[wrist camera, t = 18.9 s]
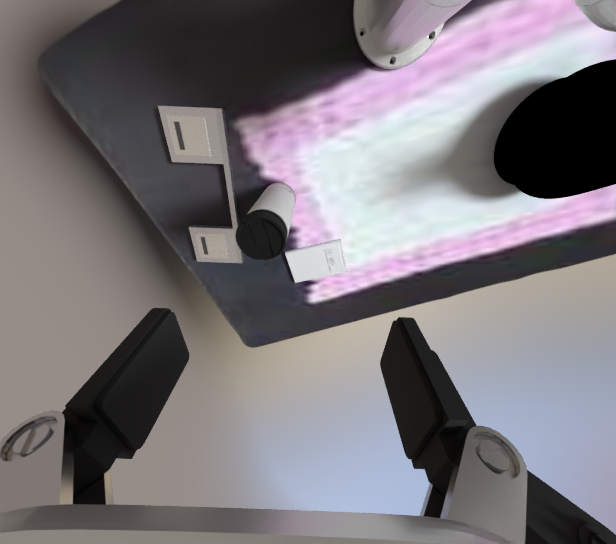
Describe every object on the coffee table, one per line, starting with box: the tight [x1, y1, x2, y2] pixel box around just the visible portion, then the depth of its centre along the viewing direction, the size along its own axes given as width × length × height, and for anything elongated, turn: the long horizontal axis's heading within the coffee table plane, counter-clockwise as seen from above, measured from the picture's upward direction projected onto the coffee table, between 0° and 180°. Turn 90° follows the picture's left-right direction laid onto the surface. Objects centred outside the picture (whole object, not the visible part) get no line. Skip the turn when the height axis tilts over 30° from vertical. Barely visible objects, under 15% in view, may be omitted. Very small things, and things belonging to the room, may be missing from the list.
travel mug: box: [235, 182, 296, 260], centre depth 36 cm, size 6×7×20 cm
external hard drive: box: [285, 239, 347, 283], centre depth 52 cm, size 2×8×12 cm
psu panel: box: [158, 106, 244, 263], centre depth 44 cm, size 28×10×2 cm, turn 178°
